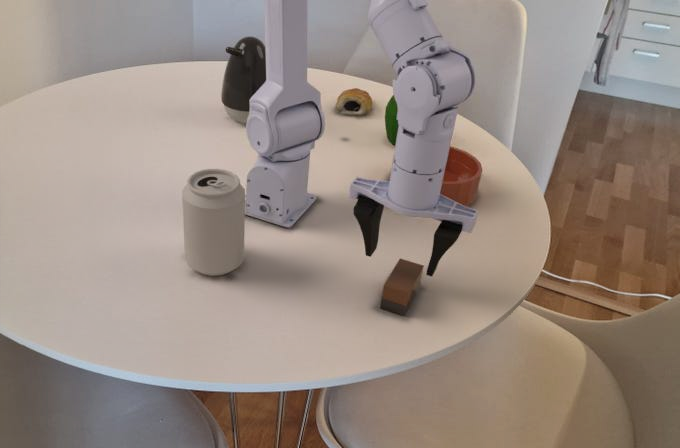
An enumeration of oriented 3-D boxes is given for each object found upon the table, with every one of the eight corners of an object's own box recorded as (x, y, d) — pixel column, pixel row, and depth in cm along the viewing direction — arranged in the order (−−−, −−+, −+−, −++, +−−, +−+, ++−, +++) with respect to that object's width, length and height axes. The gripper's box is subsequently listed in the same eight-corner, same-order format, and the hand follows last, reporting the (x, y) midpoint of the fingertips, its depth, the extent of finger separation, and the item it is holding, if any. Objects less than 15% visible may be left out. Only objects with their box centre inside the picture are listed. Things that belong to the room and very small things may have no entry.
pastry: (342, 96, 130) (344, 78, 128) (375, 101, 129) (377, 83, 127) (333, 114, 123) (335, 95, 121) (369, 119, 121) (371, 100, 119)
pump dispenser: (209, 116, 120) (207, 35, 111) (251, 103, 126) (253, 25, 117) (245, 135, 113) (246, 50, 105) (287, 120, 119) (291, 39, 111)
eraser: (404, 316, 75) (408, 293, 73) (379, 308, 76) (383, 284, 74) (419, 288, 79) (423, 265, 77) (395, 280, 80) (399, 258, 78)
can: (213, 238, 87) (212, 158, 80) (256, 260, 83) (258, 178, 76) (172, 262, 82) (167, 180, 75) (215, 287, 78) (214, 203, 71)
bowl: (464, 219, 93) (470, 192, 90) (377, 195, 98) (381, 168, 95) (484, 180, 103) (490, 155, 100) (404, 160, 108) (408, 136, 105)
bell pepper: (416, 130, 118) (425, 78, 112) (435, 150, 111) (445, 95, 106) (373, 133, 116) (380, 79, 111) (389, 153, 110) (397, 98, 104)
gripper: (493, 164, 71) (467, 262, 79) (369, 133, 76) (356, 228, 84) (479, 192, 66) (453, 295, 73) (347, 156, 71) (335, 256, 79)
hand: (400, 261), depth 78 cm, fingers open, 7 cm apart
